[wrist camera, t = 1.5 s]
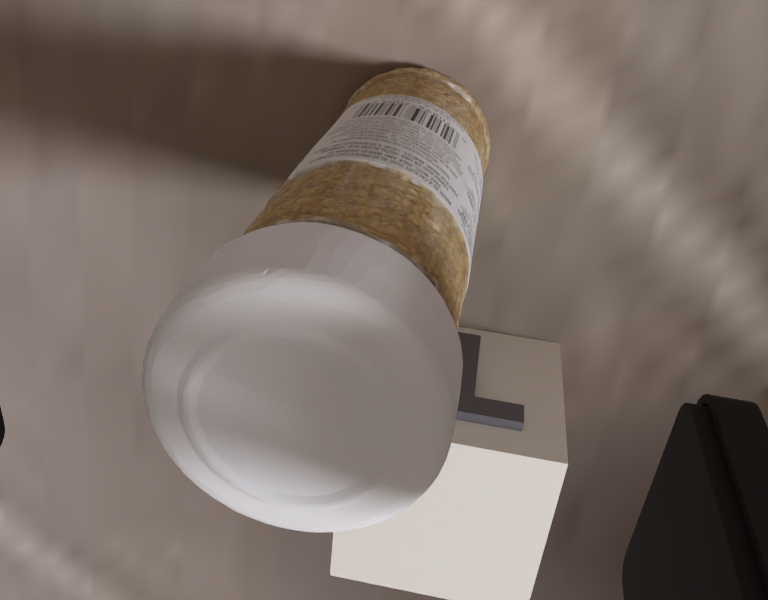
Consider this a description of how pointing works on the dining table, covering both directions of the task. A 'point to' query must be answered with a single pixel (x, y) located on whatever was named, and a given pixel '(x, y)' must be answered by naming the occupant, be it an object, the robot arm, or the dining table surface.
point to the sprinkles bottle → (333, 320)
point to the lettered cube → (478, 484)
